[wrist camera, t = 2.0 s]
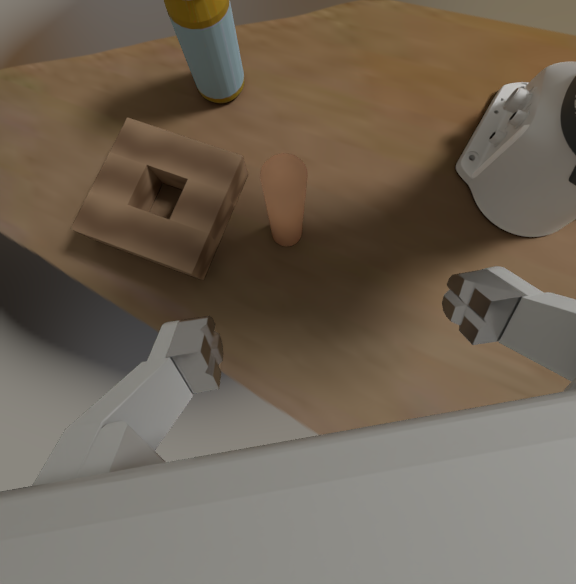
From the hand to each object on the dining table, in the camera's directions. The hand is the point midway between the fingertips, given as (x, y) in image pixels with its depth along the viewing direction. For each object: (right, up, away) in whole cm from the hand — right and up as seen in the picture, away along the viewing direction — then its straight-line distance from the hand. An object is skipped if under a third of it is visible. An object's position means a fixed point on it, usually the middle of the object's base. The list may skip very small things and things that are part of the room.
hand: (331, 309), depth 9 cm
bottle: (-11, +31, +29) cm, 44 cm away
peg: (-2, +9, +26) cm, 27 cm away
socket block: (-17, +12, +27) cm, 34 cm away
